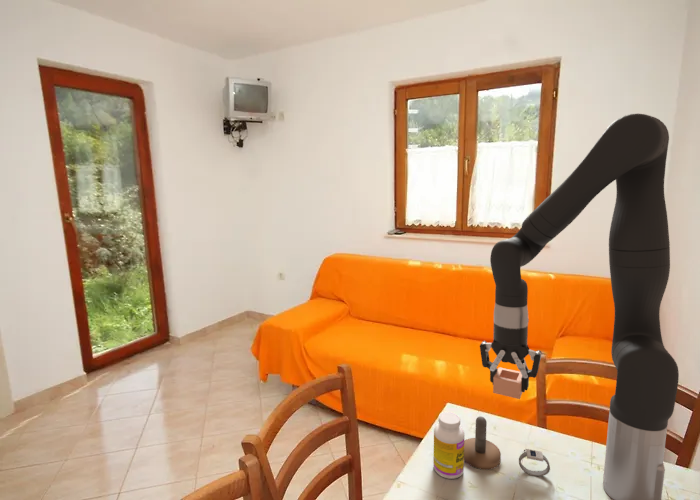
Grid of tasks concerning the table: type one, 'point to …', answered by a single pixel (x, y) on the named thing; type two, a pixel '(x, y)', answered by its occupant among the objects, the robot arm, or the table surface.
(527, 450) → the wristwatch
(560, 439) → the table surface
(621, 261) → the robot arm
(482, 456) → the post stand
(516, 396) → the pink hollow square block
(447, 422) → the supplement bottle
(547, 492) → the table surface
